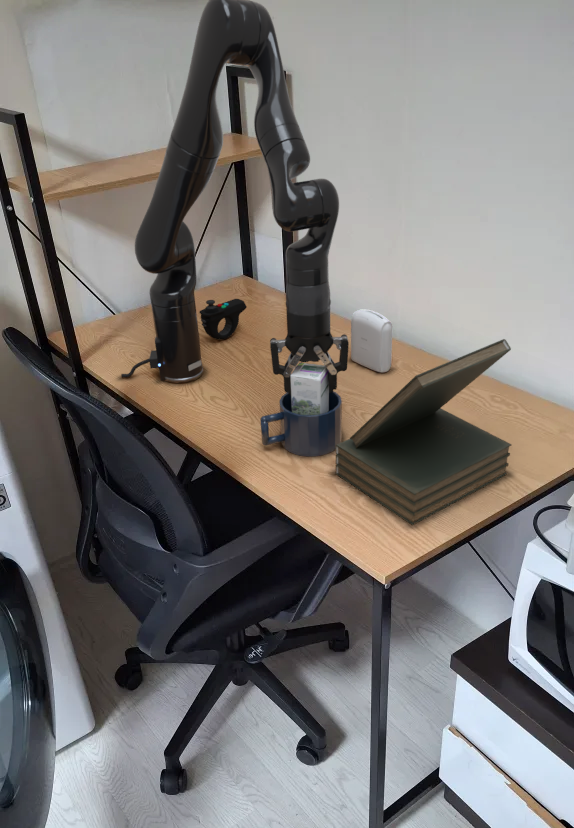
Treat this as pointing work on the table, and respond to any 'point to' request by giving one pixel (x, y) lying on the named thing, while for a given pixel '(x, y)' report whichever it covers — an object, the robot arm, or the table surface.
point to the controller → (217, 313)
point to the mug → (306, 428)
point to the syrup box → (310, 389)
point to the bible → (425, 444)
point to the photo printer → (371, 340)
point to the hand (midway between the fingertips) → (310, 391)
